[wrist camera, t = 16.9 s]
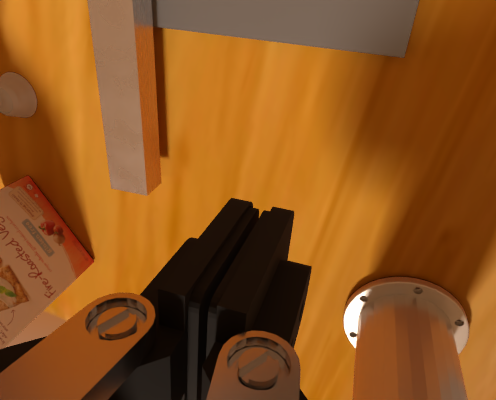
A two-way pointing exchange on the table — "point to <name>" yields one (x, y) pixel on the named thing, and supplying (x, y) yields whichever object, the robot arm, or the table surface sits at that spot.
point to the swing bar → (127, 91)
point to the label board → (298, 21)
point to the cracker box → (33, 257)
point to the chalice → (16, 96)
